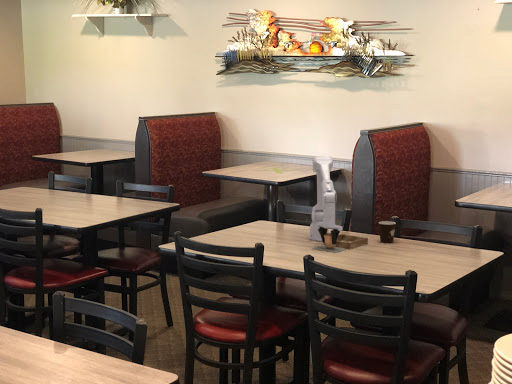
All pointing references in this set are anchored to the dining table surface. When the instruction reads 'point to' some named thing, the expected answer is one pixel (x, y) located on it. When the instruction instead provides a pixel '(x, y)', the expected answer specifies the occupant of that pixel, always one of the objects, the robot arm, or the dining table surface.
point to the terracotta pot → (328, 240)
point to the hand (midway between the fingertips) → (329, 243)
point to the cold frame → (354, 242)
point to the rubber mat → (329, 249)
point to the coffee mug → (387, 231)
